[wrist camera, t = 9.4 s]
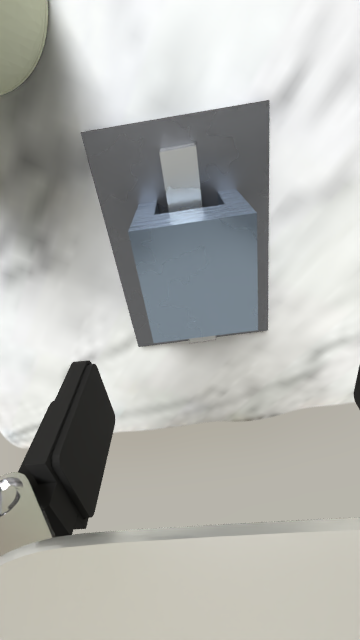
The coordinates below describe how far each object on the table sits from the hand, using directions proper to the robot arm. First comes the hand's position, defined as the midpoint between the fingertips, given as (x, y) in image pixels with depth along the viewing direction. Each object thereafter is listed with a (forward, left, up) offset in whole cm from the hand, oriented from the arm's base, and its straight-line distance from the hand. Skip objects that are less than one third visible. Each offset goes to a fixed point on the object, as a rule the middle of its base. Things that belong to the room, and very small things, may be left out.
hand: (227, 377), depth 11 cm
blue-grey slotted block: (0, 0, -13) cm, 13 cm away
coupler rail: (+1, 0, -14) cm, 14 cm away
